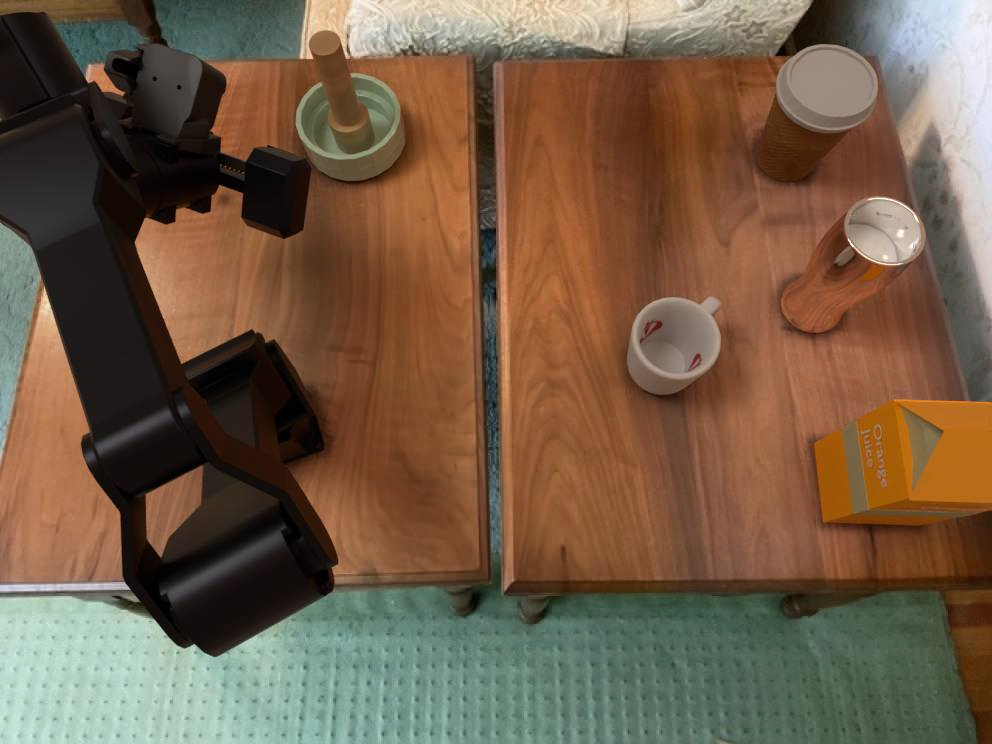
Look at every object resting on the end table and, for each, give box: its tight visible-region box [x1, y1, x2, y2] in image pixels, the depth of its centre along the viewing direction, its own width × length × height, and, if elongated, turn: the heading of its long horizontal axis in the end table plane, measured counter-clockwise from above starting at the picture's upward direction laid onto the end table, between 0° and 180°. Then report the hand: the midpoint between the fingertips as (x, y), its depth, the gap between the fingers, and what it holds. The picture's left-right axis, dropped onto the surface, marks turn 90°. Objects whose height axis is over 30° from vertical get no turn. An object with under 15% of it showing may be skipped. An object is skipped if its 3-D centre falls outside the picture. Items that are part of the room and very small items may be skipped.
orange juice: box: [813, 398, 992, 527], centre depth 56 cm, size 8×9×20 cm
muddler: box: [308, 29, 375, 154], centre depth 72 cm, size 4×4×14 cm
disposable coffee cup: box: [755, 43, 879, 183], centre depth 72 cm, size 10×10×12 cm
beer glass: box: [780, 195, 927, 334], centre depth 64 cm, size 7×7×15 cm
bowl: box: [295, 72, 406, 182], centre depth 77 cm, size 11×11×4 cm
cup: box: [626, 295, 722, 396], centre depth 66 cm, size 11×8×8 cm
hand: (256, 152), depth 62 cm, fingers open, 9 cm apart
